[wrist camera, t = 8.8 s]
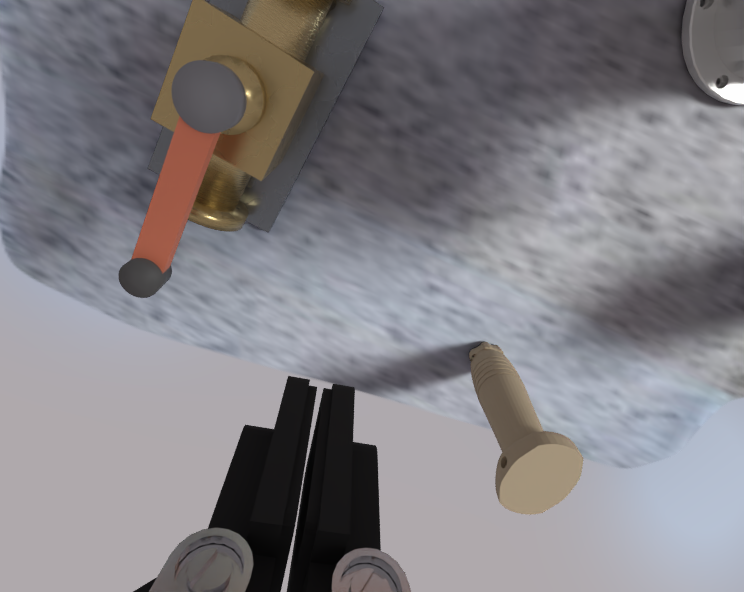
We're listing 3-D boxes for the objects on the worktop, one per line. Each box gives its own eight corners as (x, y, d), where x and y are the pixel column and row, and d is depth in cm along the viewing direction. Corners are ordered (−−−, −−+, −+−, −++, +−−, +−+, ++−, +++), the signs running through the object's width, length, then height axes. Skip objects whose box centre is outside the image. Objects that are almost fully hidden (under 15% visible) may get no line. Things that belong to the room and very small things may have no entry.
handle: (447, 373, 43) (485, 504, 30) (475, 319, 41) (531, 436, 27) (491, 386, 44) (548, 520, 31) (522, 334, 42) (598, 455, 28)
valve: (247, -87, 28) (185, -177, 18) (382, 9, 30) (391, -26, 21) (153, 166, 34) (71, 198, 25) (270, 229, 37) (237, 280, 27)
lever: (194, 48, 21) (180, 45, 20) (256, 83, 22) (247, 83, 20) (121, 271, 26) (105, 283, 25) (173, 294, 27) (161, 307, 25)
